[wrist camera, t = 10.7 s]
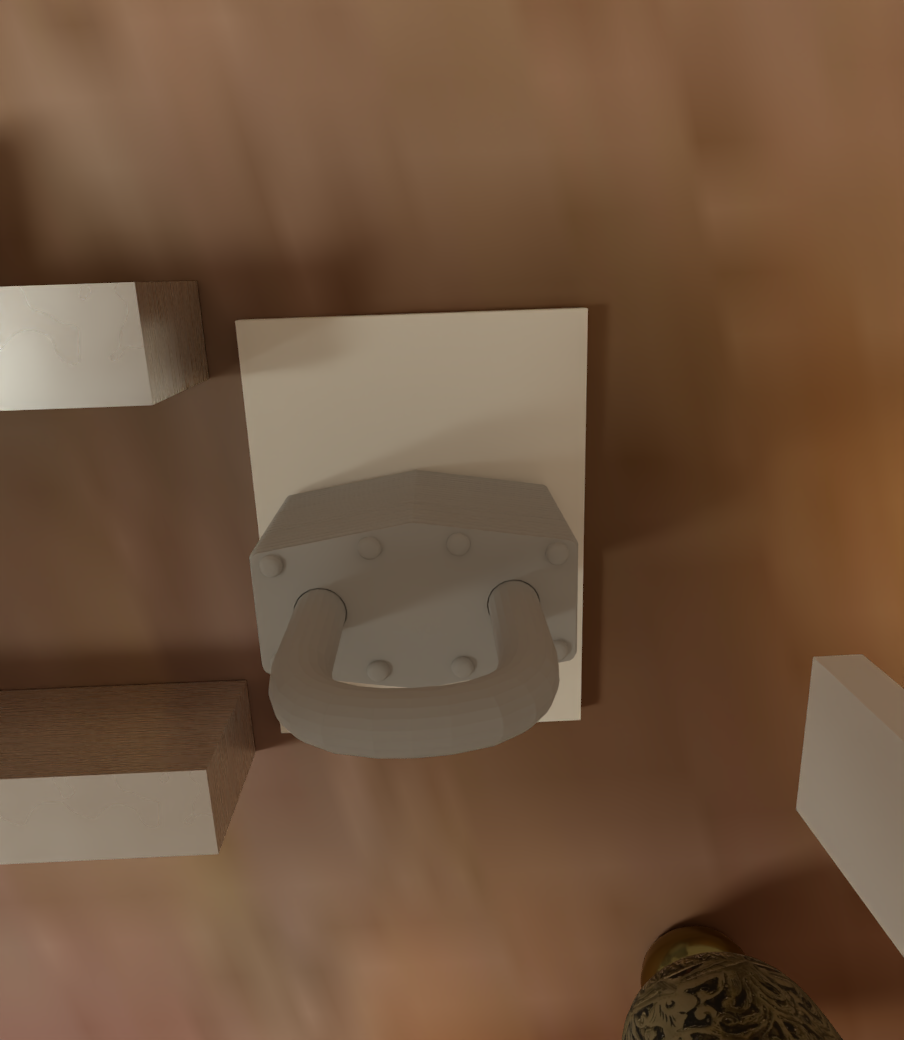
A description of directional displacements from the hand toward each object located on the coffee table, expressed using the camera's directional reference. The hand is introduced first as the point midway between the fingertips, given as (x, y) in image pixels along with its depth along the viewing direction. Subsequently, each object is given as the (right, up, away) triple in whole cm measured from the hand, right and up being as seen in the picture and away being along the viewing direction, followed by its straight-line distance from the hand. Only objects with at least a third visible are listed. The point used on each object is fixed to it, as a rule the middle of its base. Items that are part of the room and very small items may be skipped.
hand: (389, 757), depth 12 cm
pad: (0, +3, +10) cm, 11 cm away
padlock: (0, +3, +10) cm, 11 cm away
